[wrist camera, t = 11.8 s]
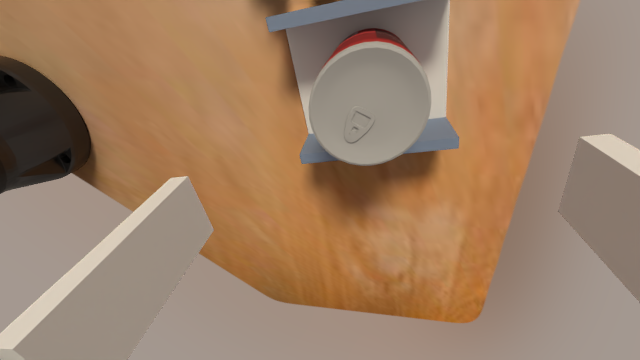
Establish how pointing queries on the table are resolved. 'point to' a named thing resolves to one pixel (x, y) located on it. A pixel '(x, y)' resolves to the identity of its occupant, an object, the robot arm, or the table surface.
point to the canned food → (369, 99)
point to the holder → (362, 13)
